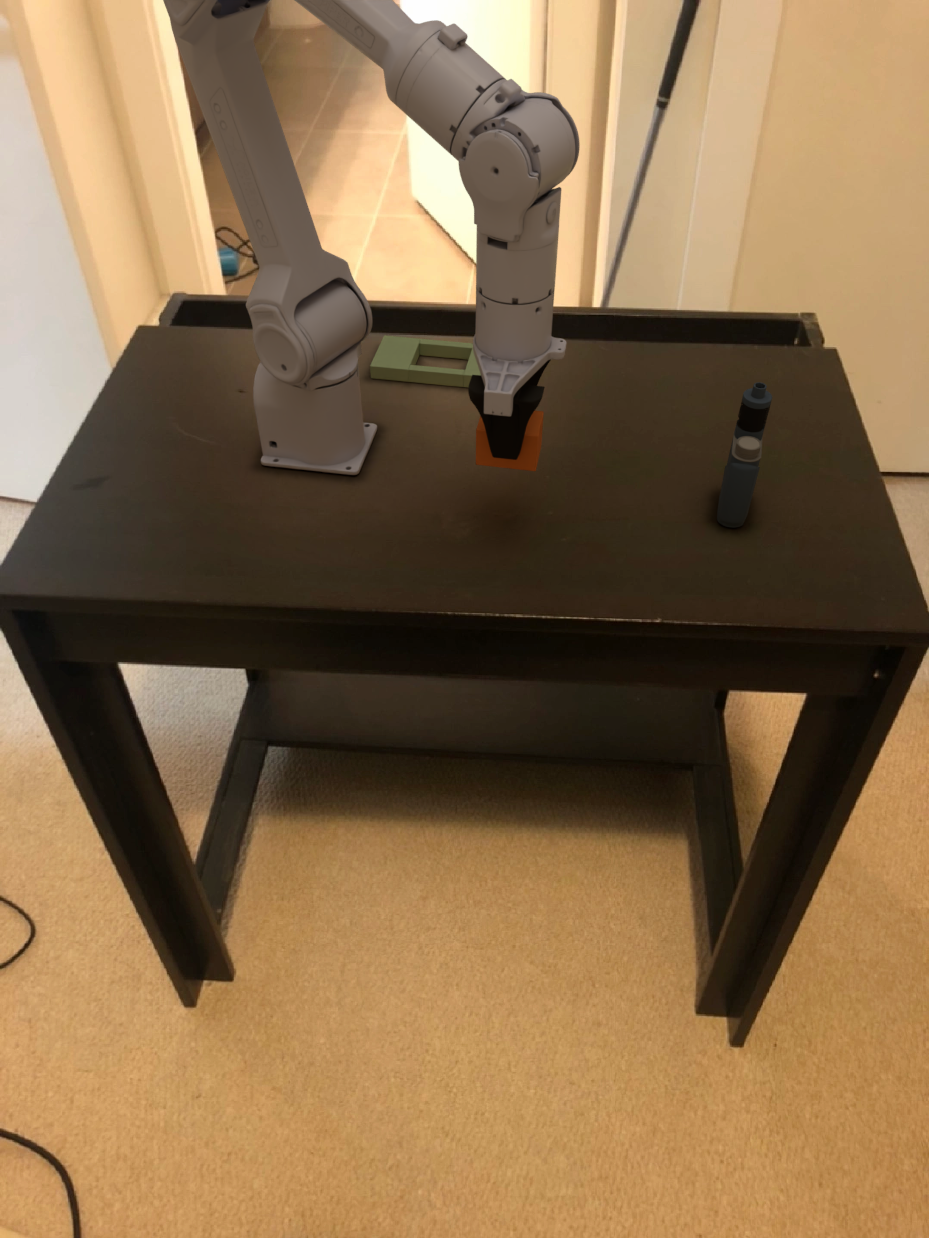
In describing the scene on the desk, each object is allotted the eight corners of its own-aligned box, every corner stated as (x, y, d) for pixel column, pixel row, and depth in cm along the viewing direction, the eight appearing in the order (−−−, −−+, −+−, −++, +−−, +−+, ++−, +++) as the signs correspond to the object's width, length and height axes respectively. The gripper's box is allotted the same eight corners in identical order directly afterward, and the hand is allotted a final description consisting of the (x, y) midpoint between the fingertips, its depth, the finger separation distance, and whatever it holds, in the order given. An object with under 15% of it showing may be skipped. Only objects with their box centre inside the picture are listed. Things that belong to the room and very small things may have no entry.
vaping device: (747, 495, 89) (776, 379, 81) (744, 532, 86) (775, 414, 77) (718, 491, 90) (744, 375, 81) (714, 527, 86) (741, 410, 77)
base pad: (370, 378, 103) (369, 365, 102) (384, 347, 108) (383, 335, 106) (502, 391, 101) (502, 378, 100) (511, 359, 106) (511, 346, 105)
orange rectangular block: (475, 465, 81) (475, 429, 78) (482, 440, 83) (483, 404, 81) (535, 471, 80) (538, 436, 78) (541, 446, 83) (543, 411, 80)
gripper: (558, 341, 66) (546, 501, 75) (580, 246, 76) (567, 398, 85) (455, 332, 67) (456, 491, 76) (490, 239, 77) (487, 390, 86)
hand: (509, 441), depth 81 cm, fingers closed on orange rectangular block, 3 cm apart
